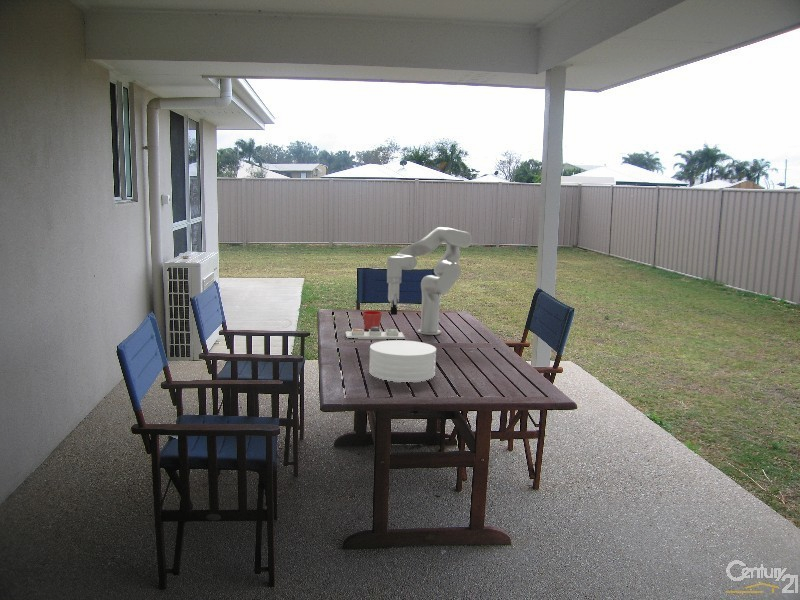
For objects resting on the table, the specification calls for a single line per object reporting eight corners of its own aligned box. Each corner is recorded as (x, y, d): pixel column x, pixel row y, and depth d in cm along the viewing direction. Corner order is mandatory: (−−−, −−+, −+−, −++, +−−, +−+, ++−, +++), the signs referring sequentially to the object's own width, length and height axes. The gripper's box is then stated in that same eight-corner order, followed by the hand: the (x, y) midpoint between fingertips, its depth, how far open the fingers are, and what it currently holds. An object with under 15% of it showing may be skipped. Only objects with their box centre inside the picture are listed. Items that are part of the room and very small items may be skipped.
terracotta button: (353, 332, 367) (353, 328, 367) (361, 332, 368) (361, 328, 367) (353, 334, 363) (353, 330, 362) (362, 334, 363) (362, 330, 363)
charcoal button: (370, 330, 368) (370, 326, 368) (378, 330, 369) (378, 326, 368) (371, 332, 364) (371, 328, 363) (379, 332, 364) (379, 328, 364)
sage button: (387, 332, 369) (387, 329, 369) (395, 332, 370) (395, 329, 370) (388, 334, 365) (388, 330, 365) (396, 334, 366) (396, 330, 365)
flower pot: (358, 330, 382) (359, 312, 380) (366, 326, 392) (366, 309, 390) (377, 332, 378) (377, 314, 377) (383, 328, 389) (384, 311, 387)
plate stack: (376, 363, 313) (377, 338, 311) (438, 368, 308) (439, 343, 306) (362, 379, 286) (363, 352, 284) (430, 385, 281) (431, 357, 279)
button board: (345, 334, 371) (345, 327, 370) (401, 334, 374) (401, 328, 374) (346, 339, 359) (346, 332, 358) (404, 339, 363) (404, 333, 362)
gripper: (385, 277, 370) (385, 311, 373) (388, 282, 355) (388, 317, 359) (399, 277, 371) (399, 311, 374) (403, 282, 356) (402, 317, 360)
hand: (393, 314), depth 366 cm, fingers closed
